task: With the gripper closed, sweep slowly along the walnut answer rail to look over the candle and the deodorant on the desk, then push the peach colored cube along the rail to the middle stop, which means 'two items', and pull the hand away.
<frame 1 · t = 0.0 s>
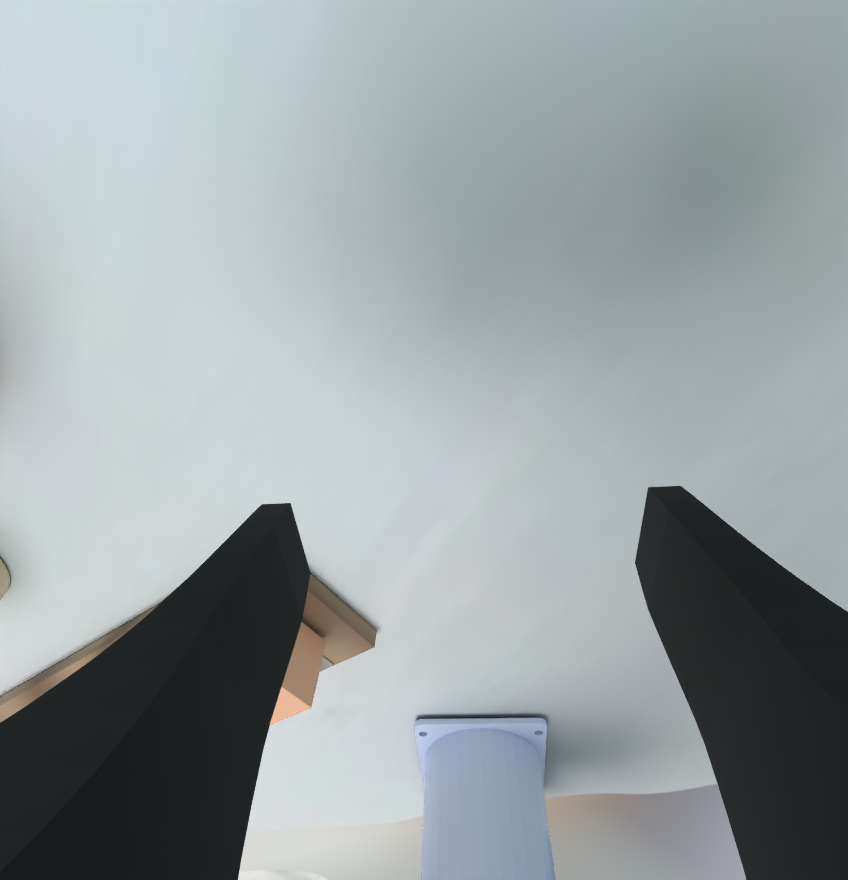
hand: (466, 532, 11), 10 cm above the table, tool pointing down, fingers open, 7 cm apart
peach colored cube: (259, 665, 25), point 3 cm above the table, slide at 0.0 cm
answer rail: (167, 669, 31), on the table
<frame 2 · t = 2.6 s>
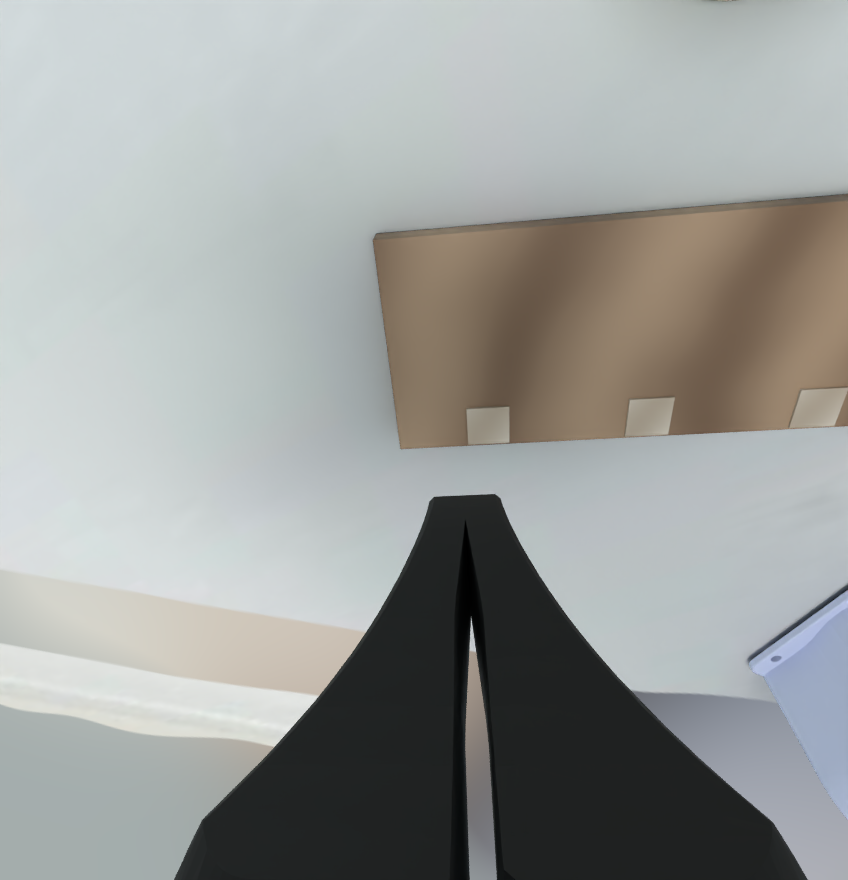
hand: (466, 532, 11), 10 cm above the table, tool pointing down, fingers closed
answer rail: (738, 322, 19), on the table
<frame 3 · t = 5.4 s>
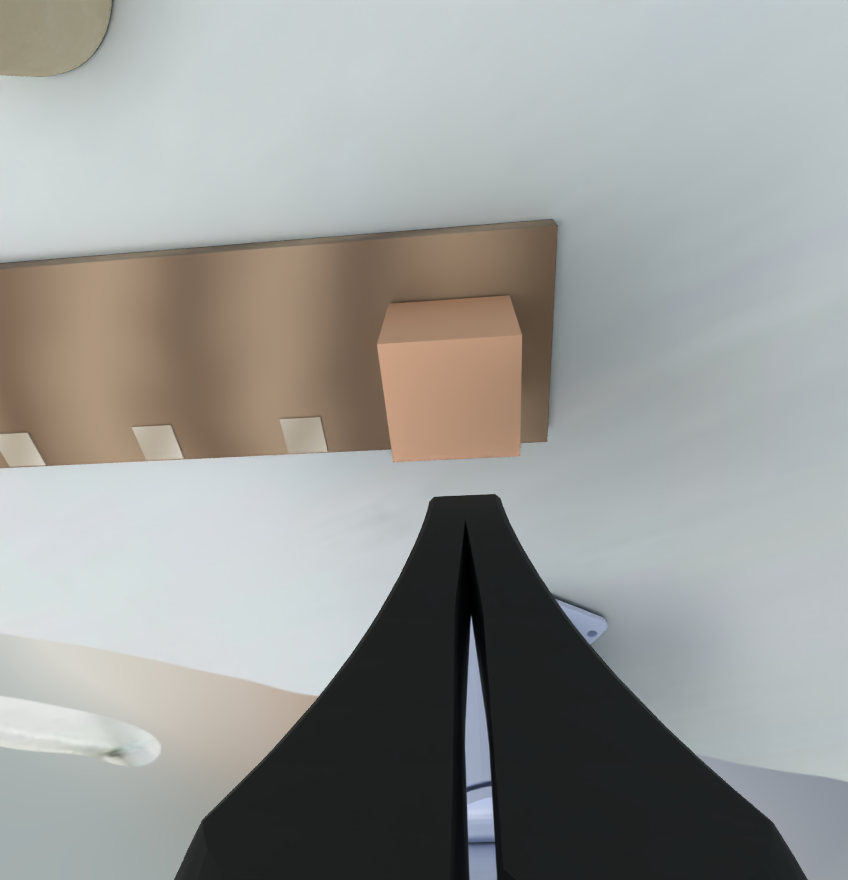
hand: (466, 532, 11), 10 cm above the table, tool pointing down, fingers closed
peach colored cube: (452, 377, 17), point 3 cm above the table, slide at 0.0 cm
answer rail: (217, 356, 20), on the table
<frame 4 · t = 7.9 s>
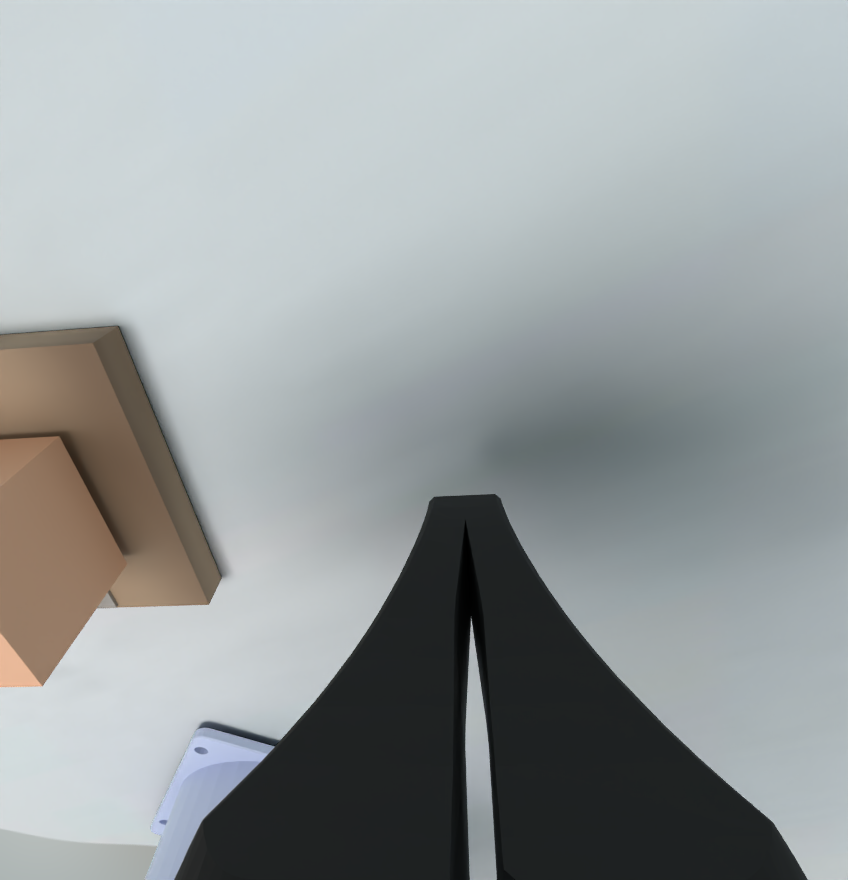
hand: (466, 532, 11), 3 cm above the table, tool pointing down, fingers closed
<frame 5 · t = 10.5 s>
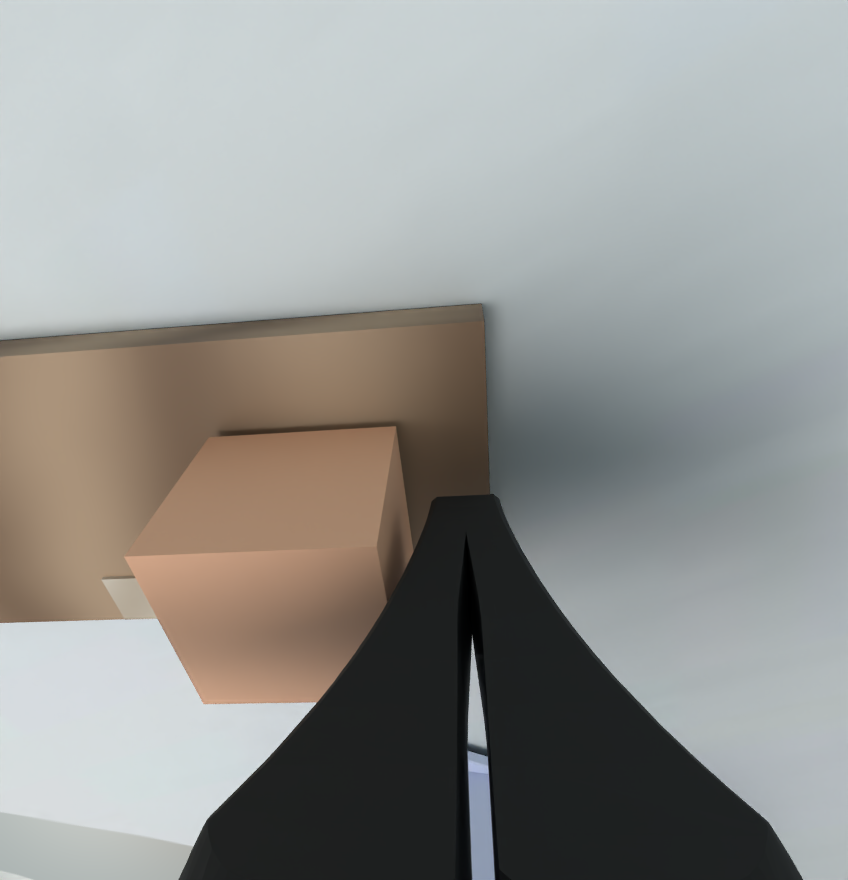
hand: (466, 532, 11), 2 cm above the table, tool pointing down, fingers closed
peach colored cube: (302, 561, 11), point 3 cm above the table, slide at 0.4 cm, touching gripper
answer rail: (8, 489, 14), on the table
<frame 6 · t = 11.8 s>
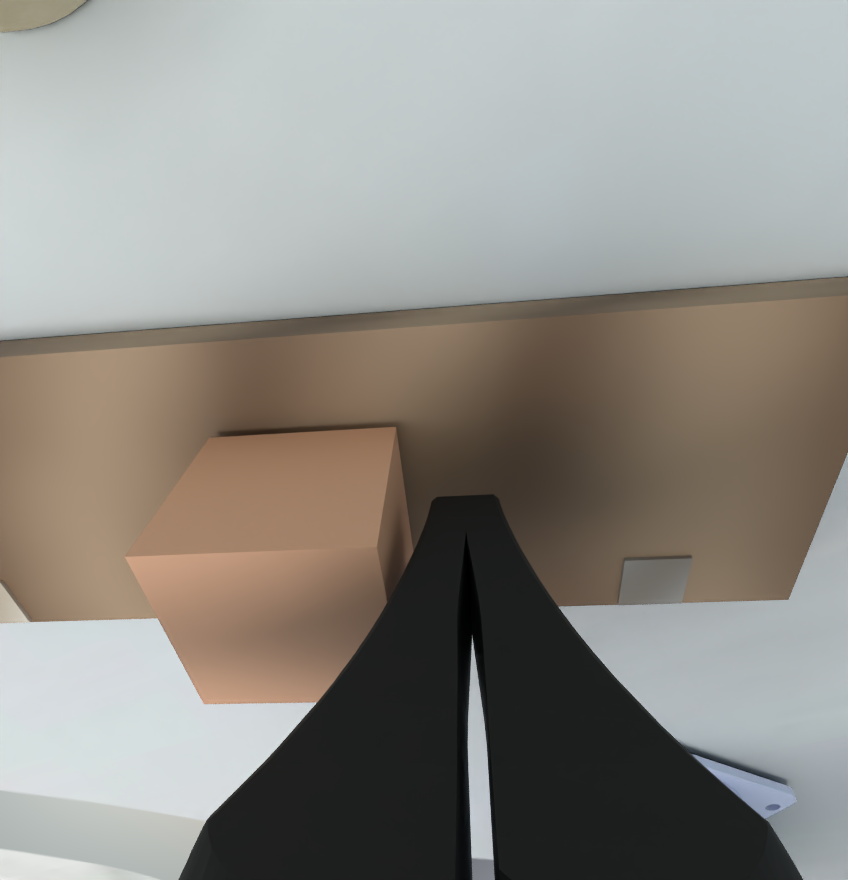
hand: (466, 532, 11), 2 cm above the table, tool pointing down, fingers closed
peach colored cube: (302, 562, 11), point 3 cm above the table, slide at 7.9 cm, touching gripper
answer rail: (288, 475, 13), on the table
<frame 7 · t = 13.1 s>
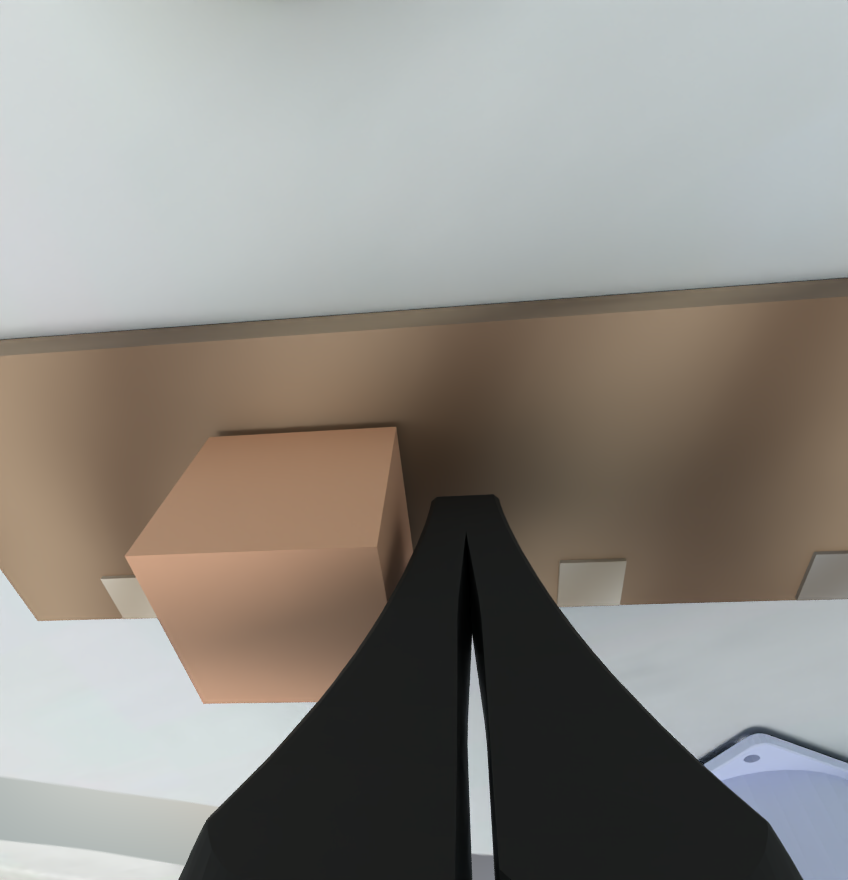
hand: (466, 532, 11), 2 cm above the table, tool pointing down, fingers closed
peach colored cube: (302, 561, 11), point 3 cm above the table, slide at 12.4 cm, touching gripper
answer rail: (465, 466, 13), on the table
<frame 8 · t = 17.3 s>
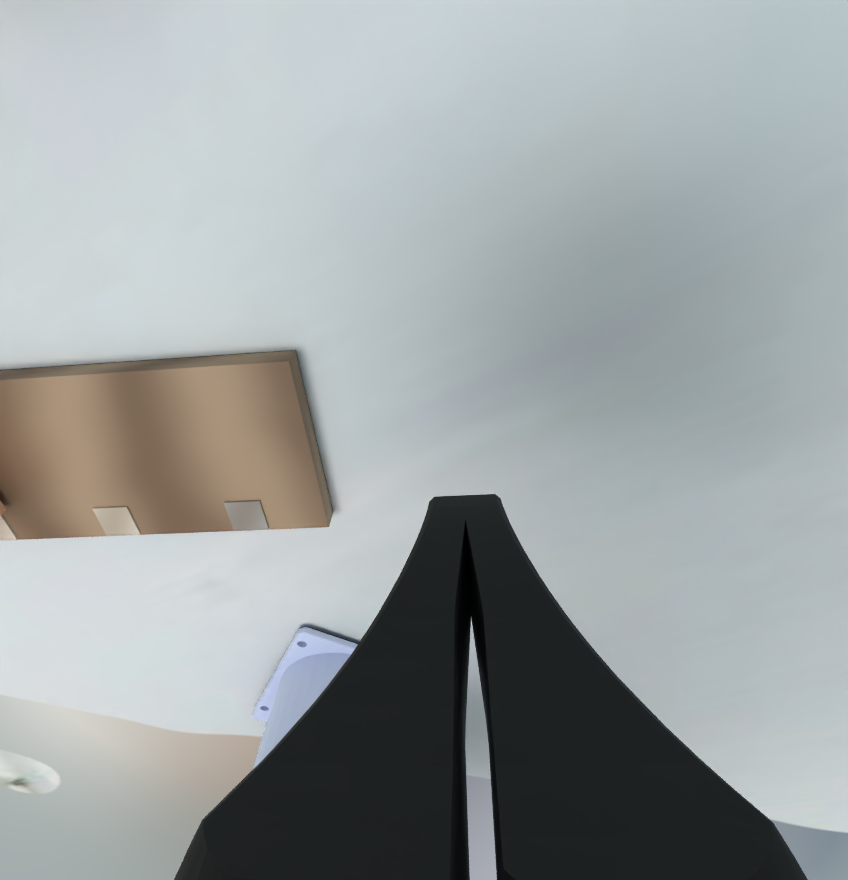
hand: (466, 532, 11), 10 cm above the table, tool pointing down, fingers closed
answer rail: (36, 454, 23), on the table
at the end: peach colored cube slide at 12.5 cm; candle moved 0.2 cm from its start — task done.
